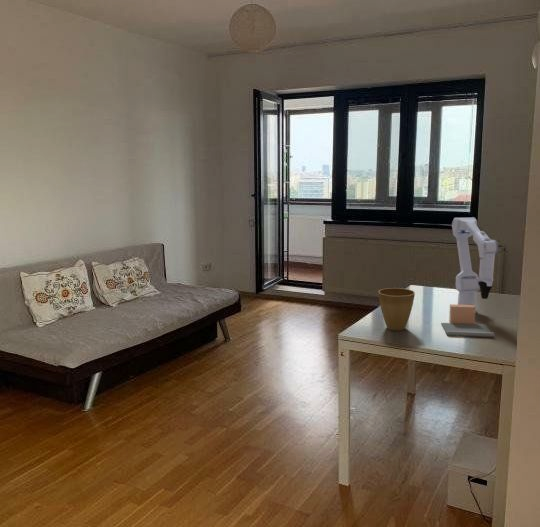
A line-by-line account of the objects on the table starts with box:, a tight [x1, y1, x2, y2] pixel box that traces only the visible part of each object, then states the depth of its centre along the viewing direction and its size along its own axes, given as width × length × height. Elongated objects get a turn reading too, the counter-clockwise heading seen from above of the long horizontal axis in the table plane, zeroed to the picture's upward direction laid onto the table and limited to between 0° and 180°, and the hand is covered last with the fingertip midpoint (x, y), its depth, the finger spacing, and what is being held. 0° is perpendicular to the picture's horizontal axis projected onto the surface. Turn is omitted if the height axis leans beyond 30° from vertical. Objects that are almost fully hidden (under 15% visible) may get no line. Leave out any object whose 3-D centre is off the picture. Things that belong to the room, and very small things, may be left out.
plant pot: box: [378, 287, 416, 332], centre depth 229 cm, size 15×15×16 cm
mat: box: [440, 322, 495, 339], centre depth 226 cm, size 16×18×2 cm
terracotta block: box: [448, 303, 477, 324], centre depth 235 cm, size 4×10×8 cm, turn 81°
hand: (484, 298), depth 237 cm, fingers closed
